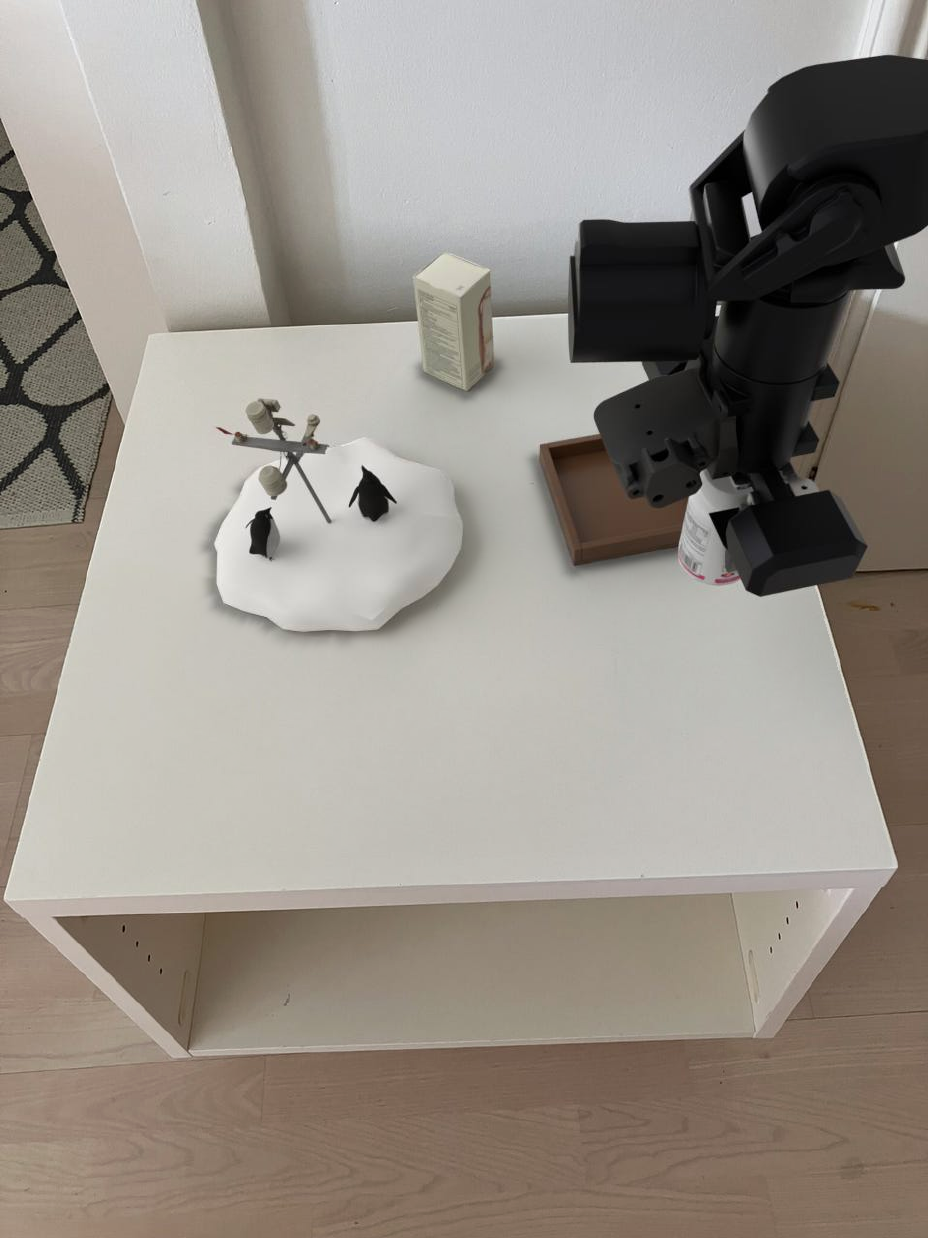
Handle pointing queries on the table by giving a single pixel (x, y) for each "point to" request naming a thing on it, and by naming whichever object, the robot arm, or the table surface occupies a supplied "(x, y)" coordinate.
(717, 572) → the pill bottle
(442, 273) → the medicine box
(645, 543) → the tray
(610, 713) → the table surface
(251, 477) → the figurine
